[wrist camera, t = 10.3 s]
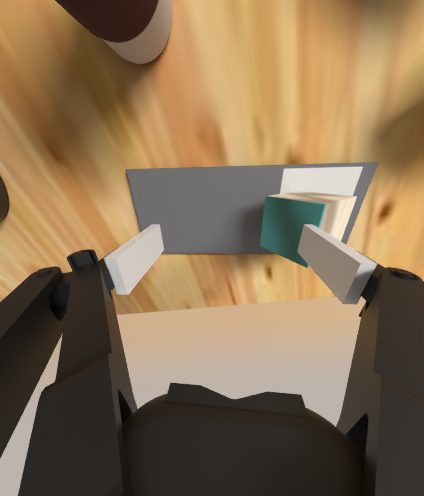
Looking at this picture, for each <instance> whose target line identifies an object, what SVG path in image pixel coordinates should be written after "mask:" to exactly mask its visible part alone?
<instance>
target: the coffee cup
mask: <svg viewBox="0 0 424 496" xmlns="http://www.w3.org/2000/svg"><path fill="white" fill-rule="evenodd" d="M55 1H56V2H57V3H59V4H60V5H61V6H62V7H63V8H64V9H65V10H66V11H67V12H68V13H69V14H71V15H72V16H73V17H74V18H75V19H76V20H77V21H78V22H79V23H80V24H82V25H83V26H84V27H85V28H86V29H87V30H89V31H90V32H91V33H92V34H94V35H96V36H97V37H99V38H101V39H102V40H103V41H104V42H105V43H106V44H107V45H108V46H109V47H110V48H111V49H113V50H114V51H115V52H116V53H117V54H118V55H119V56H121V57H122V58H123V59H125V60H127V61H129V62H132V63H136V64H145V63H148V62H151V61H152V60H154V59H155V58H157V57H158V56H159V54H160V53H161V52H162V51H163V49H164V47H165V45H166V43H167V41H168V38H169V34H170V30H171V23H172V1H171V0H55Z"/></svg>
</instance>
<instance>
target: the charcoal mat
mask: <svg viewBox="0 0 424 496" xmlns="http://www.w3.org/2000/svg"><path fill="white" fill-rule="evenodd" d="M377 164H378V162H368V163H333V164H298V165H263V166H228V167H193V168H158V169H126V172H127V176H128V180H129V184H130V188H131V193H132V197H133V201H134V205H135V209H136V214H137V218H138V222H139V226H140V230H141V232H142V231H143V230H145V229H146V228H148V227H149V226H150V225H152V224H160V229H161V235H162V240H163V246H164V251H163V252H162V253H212V254H276V253H274V252H272V251H270V250H268V249H265V248H263V247H261V246H260V239H261V231H262V222H263V214H264V205H265V196H269V195H276V194H283V193H289V192H296V191H303V192H314V193H325V194H336V195H347V196H357V198H356V201H355V204H354V207H353V209H352V212H351V215H350V217H349V220H348V223H347V226H346V228H345V231H344V234H343V237H342V239H341V242H343V243H344V244H347V241H348V238H349V236H350V233H351V231H352V228H353V226H354V223H355V220H356V218H357V215H358V213H359V210H360V208H361V205H362V203H363V200H364V197H365V195H366V192H367V190H368V187H369V185H370V182H371V179H372V177H373V174H374V172H375V169H376V167H377Z"/></svg>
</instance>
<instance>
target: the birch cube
mask: <svg viewBox="0 0 424 496" xmlns="http://www.w3.org/2000/svg"><path fill="white" fill-rule="evenodd" d="M356 198H357V196H347V195H336V194H325V193H314V192H303V191H296V192H289V193H283V194H276V195H269V196H265V205H264V214H263V222H262V231H261V239H260V246H261V247H263V248H265V249H268V250H270V251H272V252H274V253H276V254H278V255H281V256H283V257H285V258H287V259H289V260H291V261H293V262H296V263H298V264H300V265H302V266H304V267H306V268H308V267H309V265H308V264H307V262H306V261H305V260H304V259H303V258H302V257H301V256H300V254H299V253H298V252H297V251H298V247H299V243H300V239H301V234H302V230H303V226H304V224H313V225H315V226H316V227H318V228H320V229H321V230H323V231H325V232H326V233H328V234H329V235H331V236H333V237H334V238H336V239H338V240H339V241H341V239H342V237H343V234H344V231H345V228H346V226H347V223H348V220H349V217H350V215H351V212H352V209H353V207H354V204H355V201H356Z"/></svg>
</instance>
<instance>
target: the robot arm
mask: <svg viewBox="0 0 424 496" xmlns="http://www.w3.org/2000/svg"><path fill="white" fill-rule="evenodd" d="M7 209H8V198H7V193H6V190H5V187H4V184H3V182H2V180H1V177H0V222H1V221H2V220H3V219H4V217H5V215H6V213H7ZM163 251H164V246H163V240H162V235H161V229H160V224H152V225H150V226H149V227H148V228H146V229H145V230H143V231H142V232H140V233H139V234H138V235H136V236H135V237H133V238H132V239H130V240H129V241H128V242H126V243H125V244H123V245H122V246H120V247H119V248H117V249H115V250H114V251H112V252H111V253H110V254H108V255H107V256H105V257H104V258H102V259H101V260H100V261H99V260H98V258H97V255H96V253H95V251H94V250H91V249H89V250H81V251H78V252H75V253H72V254H70V255H69V256H68V257H67V260H68V262H69V264H70V266H71V268H72V270H73V271H72V272H68V273H62V271H61V269H60V268H59V267H49V268H43V269H40V270H38V271H37V272H34V273H33V274H31V275H30V276H29V277H28V278H26V279H25V280H24V281H23V282H22V283H21V284H20V285H19V286H18V287H17V288H15V289H14V290H13V291H12V292H11V293H10V294H9V295H8V296H7V297H5V298H4V299H3V300H2V301H1V302H0V458H1V456H2V454H3V451H4V450H5V448H6V446H7V443H8V442H9V440H10V438H11V436H12V433H13V432H14V430H15V428H16V426H17V424H18V422H19V420H20V418H21V416H22V414H23V412H24V409H25V407H26V406H27V403H28V401H29V400H30V398H31V395H32V394H33V392H34V389H35V387H36V385H37V383H38V381H39V379H40V377H41V375H42V373H43V371H44V369H45V367H46V365H47V363H48V361H49V359H50V357H51V355H52V353H53V351H54V349H55V347H56V345H57V343H58V341H59V339H60V337H61V335H62V333H63V335H62V342H61V348H60V355H59V361H58V368H57V374H56V380H55V382H54V383H52V384H50V385H49V386H47V387H45V388H44V390H43V391H42V392H41V396H40V398H39V402H38V406H37V411H36V415H35V420H34V424H33V429H32V434H31V438H30V443H29V448H28V452H27V457H26V461H25V466H24V471H23V475H22V480H21V485H20V489H19V494H18V496H424V282H423V281H422V279H421V278H420V277H419V276H417V275H415V274H413V273H411V272H409V271H406V270H403V269H398V268H390V267H388V268H384V267H383V266H381V265H380V264H378V263H376V262H375V261H373V260H371V259H370V258H368V257H366V256H364V255H363V254H362V253H360V252H358V251H356V250H354V249H352V248H351V247H349V246H347V245H346V244H344V243H343V242H341V241H339V240H338V239H336V238H334V237H333V236H331V235H329V234H328V233H326V232H325V231H323V230H321V229H320V228H318V227H316V226H315V225H313V224H304V226H303V230H302V234H301V239H300V243H299V247H298V251H297V252H298V253H299V254H300V256H301V257H302V258H303V259H304V260H305V261H306V262H307V264H308V265H309V266H310V267H311V268H312V269H313V270H314V272H315V273H316V274H317V275H318V276H319V277H320V278H321V280H322V281H323V282H324V283H325V284H326V285H327V286H328V288H329V289H330V290H331V291H332V292H333V293H334V294H335V296H336V297H337V298H338V299H339V300H340V301H341V302H342V304H357V303H358V301H359V299H360V297H361V296H362V297H363V298H364V299H365V300H366V303H365V305H364V307H363V309H362V310H361V312H360V314H359V316H360V317H361V321H360V326H359V331H358V335H357V340H356V345H355V350H354V354H353V359H352V364H351V369H350V373H349V378H348V383H347V388H346V392H345V397H344V402H343V407H342V411H341V415H340V419H339V421H338V423H337V426H336V427H335V426H334V425H333V424H332V423H330V422H329V421H327V420H326V419H325V418H323V417H322V416H320V415H319V414H317V413H315V412H313V411H311V410H310V409H307V408H305V405H304V402H303V399H302V396H301V395H298V394H287V393H276V392H264V393H260V394H256V395H252V396H248V397H244V398H240V399H230V398H228V397H226V396H223V395H221V394H219V393H217V392H214V391H212V390H210V389H208V388H205V387H203V386H200V385H190V384H179V383H170V386H169V390H168V394H164V395H161V396H159V397H156V398H154V399H153V400H151V401H149V402H147V403H146V404H145V405H143V406H142V407H140V408H139V409H137V406H136V402H135V400H134V396H133V392H132V387H131V382H130V378H129V373H128V368H127V363H126V358H125V354H124V349H123V345H122V340H121V335H120V330H119V325H118V321H117V315H116V311H115V306H114V301H113V296H112V293H111V290H112V289H113V288H114V287H115V289H116V292H117V294H122V295H128V294H129V293H130V292H131V291H132V289H133V288H134V287H135V286H136V284H137V283H138V282H139V281H140V279H141V278H142V277H143V276H144V274H145V273H146V272H147V271H148V270H149V268H150V267H151V266H152V265H153V263H154V262H155V261H156V260H157V258H158V257H159V256H160V255H161V253H162V252H163Z"/></svg>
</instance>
